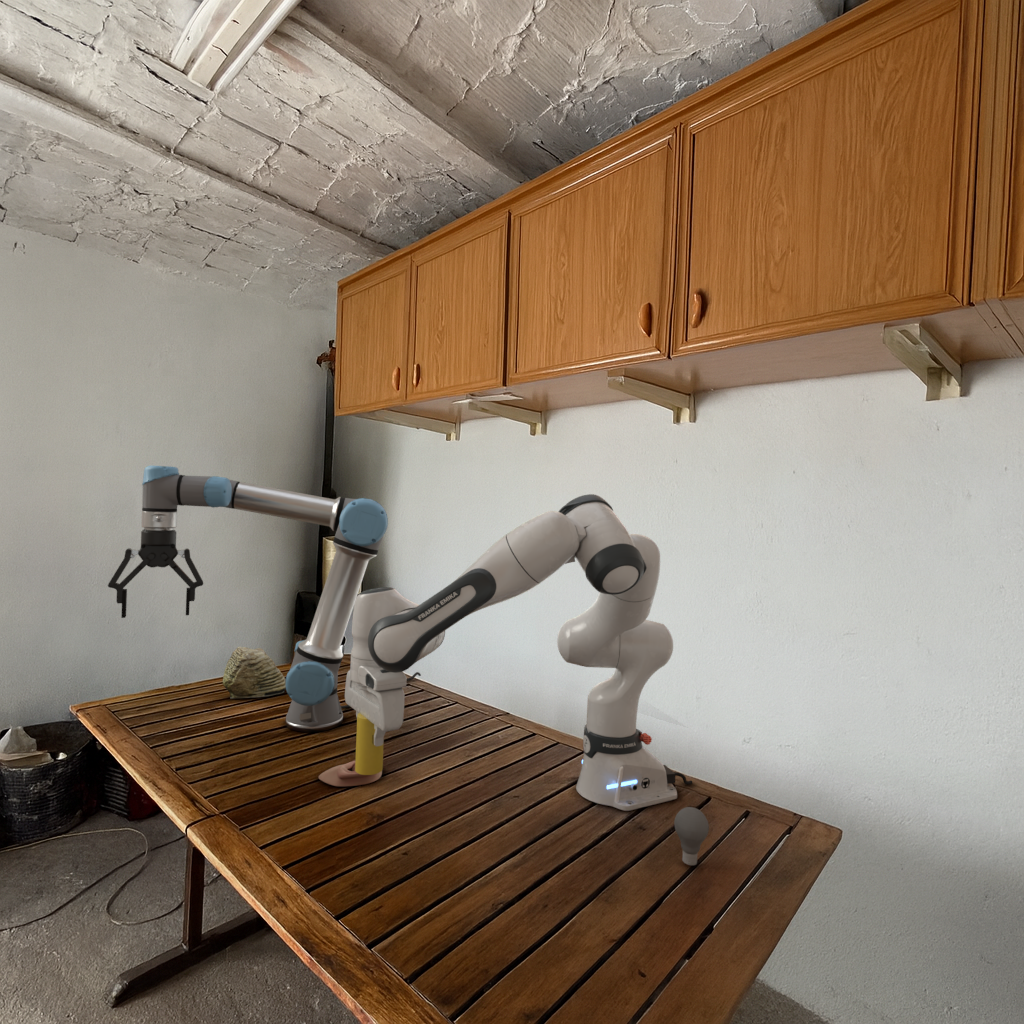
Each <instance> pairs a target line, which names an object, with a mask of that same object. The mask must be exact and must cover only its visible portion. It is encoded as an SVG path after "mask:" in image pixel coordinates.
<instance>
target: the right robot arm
mask: <svg viewBox="0 0 1024 1024" xmlns="http://www.w3.org/2000/svg"><path fill="white" fill-rule="evenodd" d="M575 562H577V563H578V565H579V567H580V569H581V570H582V572H583V573H584V574H585V579H586V580H587V581H588V582H589V584H590V585H591V586H592V587H593V589H595V590H596V591H597V592H598V594H597V597H596V599H595V601H594V602H593V603H592V604H591V605H590V606H589V607H588V608H587V609H586V610H584V611H583V612H581V613H580V614H578V615H576V616H575V617H572V618H569V619H567V620H566V621H565V622H563V623H562V625H561V626H560V627H559V630H558V632H557V633H558V634H557V638H556V645H557V649H558V653H559V655H560V656H561V658H562V659H563V660H564V662H566V663H568V664H571V665H575V666H580V667H585V668H599V669H600V668H601V669H614V671H613V673H612V675H610V676H609V677H608V678H606V679H605V680H603V681H600V682H599V683H596V684H595V685H594V686H593V687H592V688H591V689H590V690H589V692H588V695H587V701H586V723H585V725H584V727H583V739H582V748H583V749H582V751H583V758H582V760H581V768H580V773H579V776H578V779H577V782H576V785H575V790H576V792H577V793H578V794H579V796H581V797H582V798H584V799H586V800H588V801H590V802H593V803H595V804H599V805H603V806H609V807H612V808H614V809H615V808H616V809H617V810H621V811H625V812H629V811H633V810H638V809H642V808H646V807H650V806H653V805H657V804H661V803H665V802H666V803H667V802H670V801H674V800H677V799H678V791H677V788H676V787H675V786H674V784H676V777H680V778H681V779H682V782H683V784H685V785H687V786H690V785H693V781H692V780H687V778H686V775H684V774H683V773H681V772H677V771H673V770H672V769H671V768H669V767H668V766H667V765H666V764H663V763H662V761H661V760H660V759H659V758H658V757H656V756H655V755H654V754H653V753H652V752H651V751H650V750H648V749H647V748H646V747H645V746H644V745H643V744H645V745H646V746H648V745H650V744H651V743H652V741H653V737H652V736H651V735H649V734H648V733H646V732H643V731H641V730H639V728H637V720H638V709H639V702H640V697H641V694H642V691H643V689H644V687H645V685H646V684H647V682H648V681H649V679H650V678H651V677H652V676H653V675H654V674H655V673H656V672H657V671H659V670H660V669H661V668H662V667H665V666H666V665H667V664H668V663H669V661H670V660H671V657H672V656H673V652H674V639H673V636H672V633H671V632H670V629H668V627H667V625H665V624H664V623H661V622H657V621H653V620H649V619H648V618H649V616H650V613H651V610H652V607H653V603H654V599H655V595H656V592H657V588H658V584H659V579H660V572H661V552H660V549H659V547H658V544H657V543H656V542H654V540H652V539H651V538H650V537H648V536H646V535H643V534H639V533H630V532H629V531H628V529H627V527H626V526H625V525H624V524H623V522H622V521H621V519H620V518H619V517H618V515H617V514H616V513H615V511H614V509H613V506H611V505H610V503H608V501H607V500H606V499H604V498H603V497H601V496H600V495H597V494H595V493H594V494H593V493H590V494H582V495H580V496H577V497H575V498H573V499H572V500H571V499H570V501H568V502H567V503H565V505H563V506H562V507H561V508H560V509H559V510H558V511H557V510H549V511H546V512H543V513H541V514H539V515H536V516H534V517H532V518H530V519H528V520H527V521H525V522H523V523H521V524H519V525H517V526H516V527H515V528H514V529H512V530H510V531H509V532H507V533H506V534H505V535H503V536H502V537H500V538H499V539H498V540H497V541H495V542H494V543H493V544H492V545H491V546H490V547H488V548H487V549H485V551H484V552H483V553H482V554H481V555H480V556H479V557H478V558H477V559H476V560H475V561H474V562H473V563H472V564H471V565H470V566H469V567H468V568H466V569H465V570H464V571H463V572H462V573H461V574H460V575H459V576H458V577H457V578H455V580H453V581H452V582H451V583H450V584H448V585H447V586H445V587H444V588H443V589H441V590H439V591H438V592H437V593H435V594H434V595H432V596H430V597H429V598H428V599H426V600H425V601H423V602H422V603H421V604H418V603H416V602H414V601H412V600H410V599H408V598H407V597H405V596H403V595H402V594H401V593H400V592H399V591H398V590H397V589H396V588H394V587H390V586H382V587H375V588H369V589H365V590H363V591H361V592H359V593H358V594H357V597H356V600H355V603H354V606H353V609H352V621H351V636H352V648H351V651H350V666H349V667H350V668H349V669H348V671H347V673H346V677H345V678H346V679H345V685H344V686H345V688H344V701H345V704H346V705H349V706H350V708H351V709H353V710H354V711H355V716H356V718H357V715H358V713H360V714H361V715H363V716H364V717H365V718H367V719H368V720H369V721H370V722H372V723H373V724H374V729H375V733H374V735H372V744H374V745H375V746H376V747H377V746H381V745H383V743H384V744H385V735H386V733H387V732H393V731H397V730H400V729H401V727H402V726H403V723H404V717H405V692H404V689H403V688H405V687H407V683H408V681H407V675H406V674H405V673H404V672H405V671H407V670H409V668H411V667H412V666H414V665H415V664H416V663H418V662H419V661H421V660H422V659H424V658H425V657H427V656H429V655H431V654H432V653H434V652H435V651H436V650H437V649H438V648H440V646H441V645H442V644H443V642H444V639H445V635H446V630H448V629H450V628H451V627H453V626H454V625H455V624H457V623H458V622H460V621H461V620H463V619H464V618H466V617H468V616H470V615H471V614H474V613H475V612H478V611H481V610H482V609H486V608H489V607H491V606H494V605H498V604H501V603H504V602H507V601H509V600H511V599H514V598H517V597H519V596H521V595H523V594H525V593H527V592H528V591H531V590H533V589H534V588H535V587H537V586H538V585H541V583H543V582H544V581H546V580H547V579H549V578H550V577H551V576H553V575H554V574H555V573H556V572H557V571H559V570H560V569H561V568H562V567H563V566H564V565H566V564H571V563H575Z"/></svg>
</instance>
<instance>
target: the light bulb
mask: <svg viewBox="0 0 1024 1024" xmlns="http://www.w3.org/2000/svg"><path fill="white" fill-rule="evenodd" d="M673 825H674V830H675V832H676V834H677V836H678V838H679V840H680V846H681V849H682V858H681V860H682V862H683V863H684V864H686V865H688V866H696V865H697V864H698V854H699V852H700V849H701V846H702V844H703V842H704V841H705V840H706V838H707V836H708V834H709V830H710V824H709V821H708V819H707V817H706V815H705V814H704V812H702V811H701V810H700V809H698V808H697V807H692V806H685V807H683V808H681V809H680V810H679V811H678V812H677V813H676V815H675V818H674V822H673Z"/></svg>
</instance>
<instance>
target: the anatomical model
mask: <svg viewBox="0 0 1024 1024" xmlns="http://www.w3.org/2000/svg"><path fill="white" fill-rule="evenodd" d="M382 774H383V770H382V771H381V772H379V773H377V774H373V775H361V774H358V773H357V772H356V771H355V760H352V761H350V762H347V763H344V764H339V765H335V766H333V767H330V768H328V769H326V770H325V771H323V772H322V773H320V774H319V775H318V779H319V780H320V781H321V782H323V783H325V784H327V785H330V786H333V787H354V786H361V785H362V786H363V785H367V784H370V783H373V782H375V781H378V780H379V779H381V777H382Z"/></svg>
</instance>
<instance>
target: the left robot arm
mask: <svg viewBox="0 0 1024 1024" xmlns="http://www.w3.org/2000/svg"><path fill="white" fill-rule="evenodd" d="M141 486H142V499H141V501H142V503H141V505H142V506H141V528H143V529H142V530H141V531H140V547H139V549H133V548H130V547H128V548H126V550H125V552H124V557H123V560H122V561H121V562H120V564H119V566H118V568H117V569H116V571H115V572H114V574H113V576H112V577H111V579H110V580H109V582H108V584H107V587H108V588H110V589H115V591H116V604H121V619H125V618H126V617H127V601H128V598H127V597H128V589H127V588H125V587H126V586H128V584H129V583H130V582H131V581H132V580H133V579H134V578H135V577H136V576H137V575H138V574H139V573H140V572H141V571H142V570H143V569H144V568H145V567H146V566H147V567H148V568H157V567H158V568H166V567H170V568H171V569H172V570H173V571H174V572H175V573H176V574H177V575H178V576H179V577H180V579H181V580H182V581H183V582H184V583H185V584H186V585H187V586H188V587H186V595H185V616H190V602H195V599H196V589H197V588H198V587H202V586H203V585H204V581H203V578H202V577H201V575H200V573H199V571H198V569H197V566H196V565H195V563H194V561H193V560H192V558H191V552H190V551H191V550H190V549H189V548H184V549H178V548H177V531H176V530H175V529H176V528H177V527H178V506H179V507H180V506H181V507H183V506H187V507H188V506H189V507H205V508H227V509H233V510H239V511H245V512H249V513H254V514H255V513H256V514H259V515H260V514H261V515H266V516H272V517H275V518H276V517H277V518H283V519H287V520H294V521H298V522H304V523H308V524H309V523H310V524H315V525H319V526H325V527H329V528H330V529H331V530H332V531H333V532H335V535H334V538H333V541H332V544H333V546H334V548H335V554H334V557H333V559H332V562H331V565H330V569H329V571H328V575H327V577H326V580H325V583H324V586H323V589H322V592H321V595H320V599H319V601H318V604H317V608H316V610H315V613H314V616H313V619H312V622H311V625H310V628H309V631H308V634H307V637H306V639H303V640H299V641H297V642H296V643H295V648H294V650H293V651H294V655H293V659H292V662H291V666H290V668H289V670H288V672H287V674H286V676H285V682H286V690H285V691H286V694H287V695H288V697H289V698H290V699H291V702H290V704H289V708H288V711H287V713H286V715H285V726H286V728H287V729H289V730H291V731H294V732H295V731H296V732H301V733H316V732H325V731H329V730H332V729H335V728H337V727H339V726H340V725H342V723H343V722H344V714H343V710H344V709H349V708H351V707H350V706H349V705H348V704H346V705H341V702H340V699H339V695H338V682H339V681H338V680H339V678H338V677H339V670H340V667H341V664H342V661H343V659H344V653H343V651H342V650H341V645H342V642H343V640H344V636H345V633H346V630H347V627H348V625H349V621H350V618H351V615H352V613H353V610H354V604H355V600H356V598H357V596H358V595H359V591H360V588H361V585H362V582H363V579H364V576H365V573H366V570H367V567H368V564H369V562H370V560H371V559H374V558H376V557H377V556H378V553H379V550H380V547H381V544H382V541H383V537H384V535H385V534H386V533H387V529H388V525H389V518H388V514H387V512H386V511H387V510H386V509H385V508H384V507H383V506H382V505H381V503H379V502H378V501H376V500H374V499H372V498H366V497H360V498H349V497H343V496H338V497H337V498H329V497H323V496H318V495H313V494H309V493H308V494H307V493H304V492H303V493H302V492H297V491H292V490H287V489H282V488H280V489H279V488H276V487H270V486H265V485H260V484H255V483H250V482H243V481H239V480H233V479H229V478H228V477H223V476H217V475H216V476H215V475H212V476H211V475H210V476H209V475H208V476H207V475H185V474H180V472H179V468H178V467H177V466H169V465H167V466H166V465H147V466H146V467H144V469H143V478H142V484H141ZM136 555H138V556H139V557H140V559H141V560H142V561H141V562H140V563H138V565H137V566H136V567H135V568H134V569H133V570H132V571H131V572H130V573H128V575H126V577H125V578H124V579H123V580H122V581H121V582H120V583H118V580H119V579H120V577H121V576H122V574H123V572H124V571H125V569H126V568H127V566H128V564H129V562H130V561H131V559H134V558H135V557H136ZM178 555H179V556H180V557H181V558H182V559H184V560H185V562H186V565H187V567H188V568H189V570H190V572H191V574H192V576H193V578H194V579H195V581H194V580H192V579H191V578H190V577H189V576H188V575H187V573H185V571H184V570H183V569H182V568H181V567H180V566H179V564H178V563H177V562H176V561H175V559H176V557H178ZM416 676H419V677H421V676H422V674H421V673H420V672H419V671H416V672H414V674H413V675H412V676H410V677H408V678H407V677H406V678H407V682H410V681H411V680H413V679H415V677H416Z"/></svg>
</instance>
